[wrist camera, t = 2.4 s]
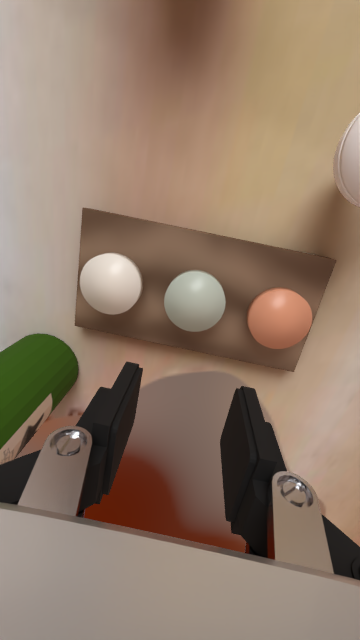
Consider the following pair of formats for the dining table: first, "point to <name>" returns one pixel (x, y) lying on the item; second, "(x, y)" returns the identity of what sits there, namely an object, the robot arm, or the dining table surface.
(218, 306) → the sage button
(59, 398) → the wine bottle
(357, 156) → the spinning top
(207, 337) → the button board
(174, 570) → the robot arm
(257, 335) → the terracotta button
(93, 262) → the cream button
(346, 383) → the dining table surface
